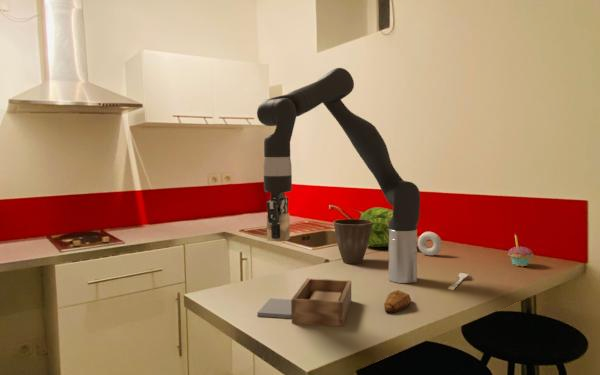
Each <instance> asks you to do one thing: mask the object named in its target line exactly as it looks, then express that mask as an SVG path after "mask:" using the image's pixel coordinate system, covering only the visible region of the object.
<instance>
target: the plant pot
mask: <svg viewBox="0 0 600 375" xmlns="http://www.w3.org/2000/svg"><path fill="white" fill-rule="evenodd" d="M371 226H372V222H371V221H369V220H362V219H360V218H359V219H358V218H343V219H342V218H341V219H336V220H333V228H334V235H335V239H336V244H337V247H338V250H339V253H340V257H341V260H342V262H343V263H345V264H349V265H350V264H351V265H357V264H362V262H363V260H364V259H365V258H364V257H365V254H366V252H367V248H368V246H369V245H368V242H369V238H370V233H371Z"/></svg>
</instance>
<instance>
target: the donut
mask: <svg viewBox="0 0 600 375" xmlns="http://www.w3.org/2000/svg"><path fill="white" fill-rule="evenodd" d="M427 241H431V242H432V244H433V245H432V246H431V247H429V246H428V245H427ZM442 243H443V242H442V239H441V237H440V236H439V235H438V234H437V233H435V232H432V231H425V232H423V233H422V234H421V235H419V237H418V239H417V248H418V249H419V251H420V252H421V253H422V254H424V256H425V255H426V256H435V255H438V253H440V251H441V250H442V246H443V244H442Z"/></svg>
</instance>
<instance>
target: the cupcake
mask: <svg viewBox="0 0 600 375" xmlns="http://www.w3.org/2000/svg"><path fill="white" fill-rule="evenodd" d="M516 234H517V233H514V239H515V246H514V247H512V248H510V249H509V250H507V255H508V257H510V259H511V262H512V265H513V264H516V265H529V262H530V260H531V259H532V258H534V256H535V255H534V253H533V252H534V251H532V250H531V249H530V248H528V247H525V246H519V244H518V236H517V235H516Z"/></svg>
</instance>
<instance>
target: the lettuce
mask: <svg viewBox="0 0 600 375" xmlns="http://www.w3.org/2000/svg"><path fill="white" fill-rule="evenodd" d="M392 216H393V209H389V208H385V207H381V206H379V207H376V206H375V207H371V208H369V209H367V210H365V211H364V212H363V213H362V214H361V216H360V218H359V219H362V220H369V221H371V222H372V226H371V233H370V238H369V242H368V246H370V247H373V248H389V220H390V219H392Z"/></svg>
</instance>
